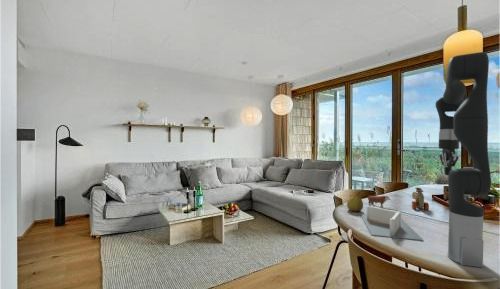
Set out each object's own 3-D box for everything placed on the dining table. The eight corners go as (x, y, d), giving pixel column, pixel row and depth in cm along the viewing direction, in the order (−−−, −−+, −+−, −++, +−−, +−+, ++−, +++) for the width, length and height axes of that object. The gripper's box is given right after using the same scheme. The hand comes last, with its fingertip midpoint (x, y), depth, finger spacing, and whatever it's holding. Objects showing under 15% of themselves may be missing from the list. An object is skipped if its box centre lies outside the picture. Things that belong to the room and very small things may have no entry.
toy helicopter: (413, 210, 149) (414, 188, 149) (406, 202, 169) (406, 182, 168) (429, 211, 146) (430, 189, 146) (420, 203, 166) (420, 183, 165)
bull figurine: (391, 208, 153) (391, 195, 153) (368, 207, 156) (368, 194, 156) (388, 206, 157) (388, 194, 157) (366, 205, 160) (366, 193, 160)
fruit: (344, 209, 150) (344, 190, 150) (355, 208, 153) (355, 189, 153) (354, 213, 142) (354, 193, 142) (366, 212, 145) (366, 192, 145)
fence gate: (395, 224, 122) (396, 211, 121) (394, 225, 120) (394, 211, 120) (367, 218, 132) (367, 205, 132) (366, 218, 131) (366, 206, 130)
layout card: (423, 241, 104) (423, 239, 104) (371, 235, 110) (371, 234, 110) (400, 217, 135) (400, 217, 135) (360, 214, 140) (360, 213, 140)
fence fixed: (396, 226, 121) (396, 211, 121) (401, 227, 120) (401, 212, 120) (389, 236, 109) (389, 219, 109) (394, 237, 108) (394, 220, 108)
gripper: (433, 138, 122) (432, 172, 123) (446, 138, 110) (445, 176, 110) (450, 138, 120) (450, 173, 121) (466, 138, 108) (465, 177, 108)
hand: (447, 174), depth 115 cm, fingers closed
